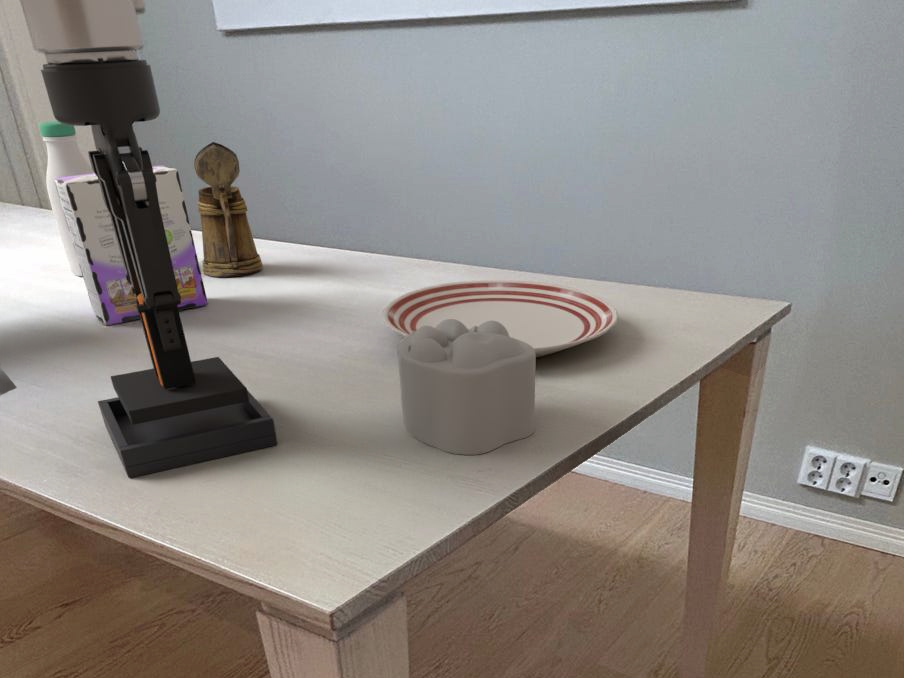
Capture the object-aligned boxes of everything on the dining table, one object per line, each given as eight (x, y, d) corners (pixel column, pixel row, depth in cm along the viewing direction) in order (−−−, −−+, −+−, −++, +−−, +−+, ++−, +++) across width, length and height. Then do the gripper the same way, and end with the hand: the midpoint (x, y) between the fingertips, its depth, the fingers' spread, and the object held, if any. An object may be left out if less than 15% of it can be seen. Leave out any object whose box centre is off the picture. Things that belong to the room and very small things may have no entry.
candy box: (193, 297, 116) (163, 163, 106) (209, 306, 112) (179, 168, 102) (93, 316, 109) (51, 175, 99) (106, 326, 105) (64, 181, 95)
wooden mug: (208, 287, 120) (178, 144, 109) (201, 267, 130) (173, 134, 119) (270, 281, 122) (246, 139, 111) (258, 261, 132) (235, 130, 121)
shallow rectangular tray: (105, 426, 79) (97, 401, 78) (239, 399, 84) (234, 375, 82) (128, 478, 70) (120, 451, 68) (278, 445, 75) (273, 418, 73)
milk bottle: (83, 280, 125) (37, 126, 113) (64, 272, 129) (18, 123, 117) (132, 271, 129) (92, 120, 117) (112, 263, 134) (72, 118, 121)
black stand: (113, 388, 76) (84, 290, 71) (221, 368, 80) (200, 273, 75) (132, 425, 69) (101, 318, 64) (249, 401, 73) (228, 298, 67)
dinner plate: (633, 311, 105) (636, 283, 103) (590, 386, 84) (591, 353, 82) (432, 298, 112) (430, 272, 110) (346, 365, 91) (342, 334, 89)
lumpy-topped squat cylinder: (463, 461, 71) (459, 360, 66) (376, 419, 79) (366, 326, 74) (549, 428, 76) (552, 332, 71) (460, 391, 84) (456, 303, 79)
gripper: (169, 56, 55) (240, 398, 69) (128, 53, 66) (197, 347, 81) (49, 62, 52) (149, 416, 67) (28, 57, 64) (117, 361, 78)
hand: (175, 378), depth 73 cm, fingers closed on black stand, 3 cm apart
